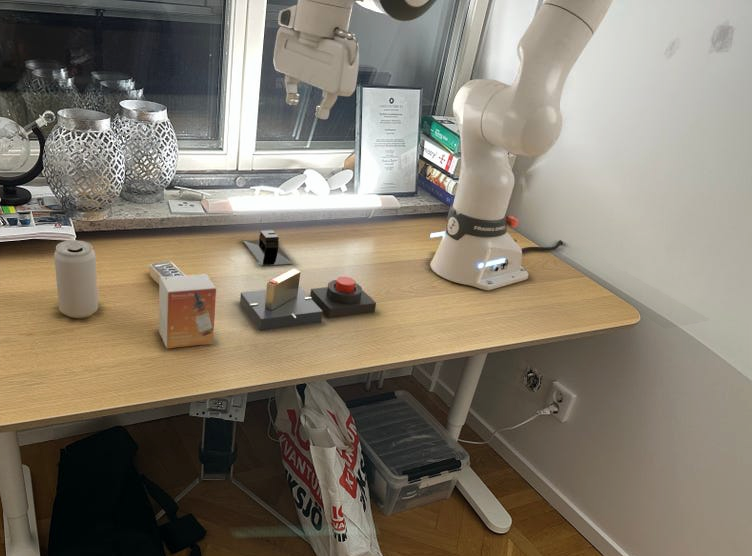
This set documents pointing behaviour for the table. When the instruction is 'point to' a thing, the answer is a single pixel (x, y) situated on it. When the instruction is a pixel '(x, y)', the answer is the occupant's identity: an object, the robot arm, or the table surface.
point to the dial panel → (280, 310)
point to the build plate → (268, 250)
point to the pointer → (282, 289)
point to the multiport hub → (164, 270)
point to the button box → (342, 301)
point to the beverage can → (76, 278)
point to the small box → (186, 310)
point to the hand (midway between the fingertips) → (306, 111)
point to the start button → (345, 284)
